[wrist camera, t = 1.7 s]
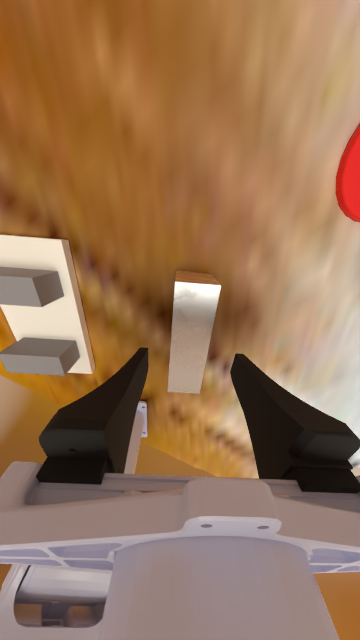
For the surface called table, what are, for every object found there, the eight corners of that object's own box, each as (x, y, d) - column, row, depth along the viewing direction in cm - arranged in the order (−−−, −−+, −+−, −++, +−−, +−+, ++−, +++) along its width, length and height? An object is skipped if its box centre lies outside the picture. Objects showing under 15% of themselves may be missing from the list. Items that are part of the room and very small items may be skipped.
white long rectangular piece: (195, 362, 22) (199, 393, 17) (170, 360, 22) (167, 391, 17) (210, 272, 17) (221, 285, 12) (176, 270, 16) (175, 281, 12)
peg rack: (95, 368, 22) (79, 393, 19) (36, 365, 22) (8, 389, 18) (68, 239, 15) (33, 240, 11) (-21, 232, 15) (-85, 230, 11)
